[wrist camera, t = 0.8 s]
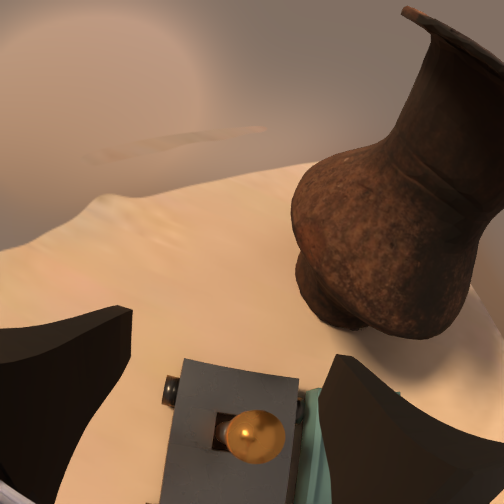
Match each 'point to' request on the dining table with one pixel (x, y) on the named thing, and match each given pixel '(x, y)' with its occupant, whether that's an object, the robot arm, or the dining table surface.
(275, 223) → the dining table surface
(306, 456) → the tray
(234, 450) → the pin
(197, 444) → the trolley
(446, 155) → the jug
